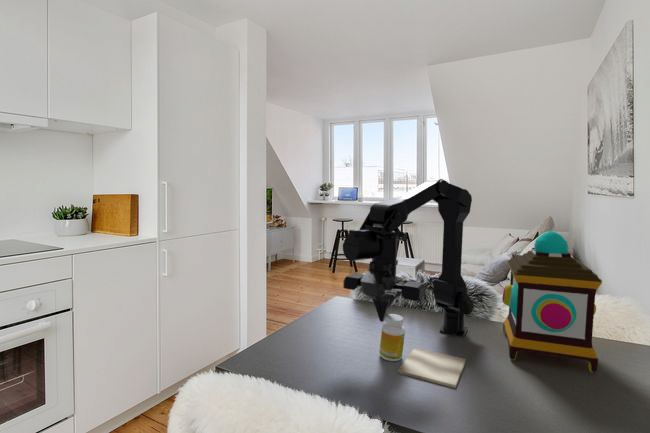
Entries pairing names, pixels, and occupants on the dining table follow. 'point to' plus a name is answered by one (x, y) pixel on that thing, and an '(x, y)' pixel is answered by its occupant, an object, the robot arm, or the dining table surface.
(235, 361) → the dining table surface
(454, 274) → the robot arm
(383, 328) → the supplement bottle
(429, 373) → the birch mat
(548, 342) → the decorative lantern
